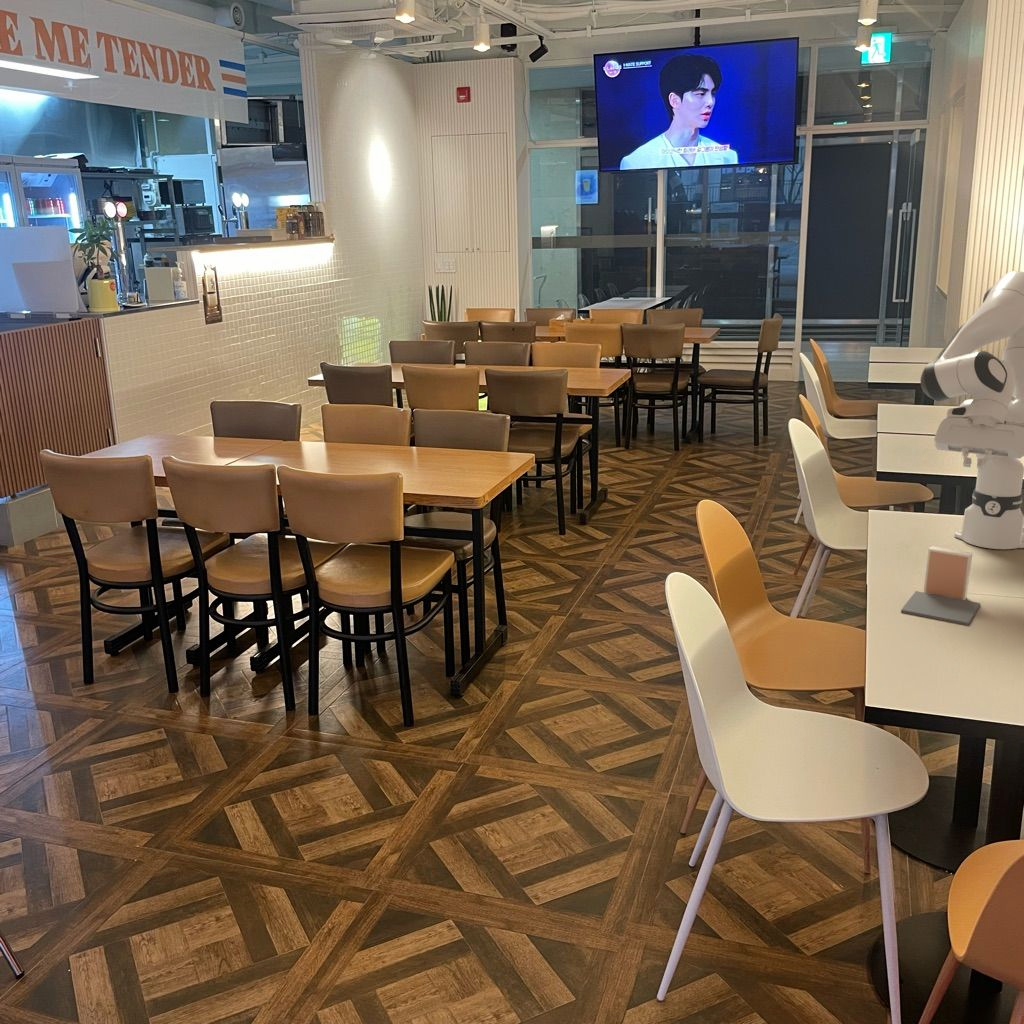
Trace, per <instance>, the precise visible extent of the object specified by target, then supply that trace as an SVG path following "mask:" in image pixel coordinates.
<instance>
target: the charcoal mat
mask: <svg viewBox="0 0 1024 1024" xmlns="http://www.w3.org/2000/svg"><path fill="white" fill-rule="evenodd" d="M980 606H981V602H977V601H972V600H967V599H965V600H962V599H957V598H951V597H946V596H940V595H935V594H929V593H924V591H917V590H915V591H914V593H913V594H912V595H911V597H910V598H909V599H908V601H906V603H905V604H904V605H903V607H902V608H901V610H900V613H902V614H903V613H904V614H908V615H913V616H918V617H925V618H928V619H935V620H940V621H945V622H949V623H953V624H959V625H964V626H969V625H970V623H971V622H972V620H973V618H974V616H975V615H976V613H977V612H978V610H979V608H980Z"/></svg>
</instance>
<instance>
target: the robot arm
mask: <svg viewBox="0 0 1024 1024" xmlns="http://www.w3.org/2000/svg"><path fill="white" fill-rule="evenodd" d="M1007 338H1008V340H1007V342H1006V343H1005V347H1004V349H1003V353H1002V356H1001V359H998V358H997V357H996V356H995V355H994V354H992V353H990V352H988V351H986V350H981V351H979V350H978V349H980V348H982V347H985V346H987V345H990V344H993V343H995V342H999V341H1001V340H1004V339H1007ZM977 350H978V351H977ZM975 351H976V352H975ZM920 387H921V389H922V392H923V393H924V394H925V395H926V396H927V397H929V398H930V399H932V400H934V401H935V402H943V401H946V400H949V399H952V398H956V397H961V396H962V397H963V396H965V395H966V396H967V395H970V396H972V398H970V399H965V400H964V401H963V402H962V403H961V404H959V406H958V407H957V406H956V407H951V408H948V410H947V412H946V418H944V419H943V420H942V421H941V422H940V424H939V426H938V428H937V429H936V433H935V435H934V440H933V441H934V442H933V443H934V447H935V448H936V450H937V451H945V452H946V451H947V452H957V453H961V456H962V459H963V463H962V464H963V465H962V466H963V467H964V468H971V466H972V457H969V454H973V455H974V454H975V457H976V462H977V464H976V468H977V471H976V483H975V488H974V489H973V491H972V492H973V493H972V498H971V499H972V500H971V503H972V504H970V505H969V506H967V507H966V508H965V509H964V514H963V519H962V526H961V529H959V530H958V531H955V532H954V535H953V536H954V537H955V538H957V539H960V540H962V541H964V542H965V543H968V544H970V545H972V546H977V547H980V548H985V549H986V548H987V549H992V550H993V549H994V550H1012V549H1013V550H1014V549H1024V514H1023V513H1022V511H1021V507H1022V503H1023V494H1022V488H1023V483H1024V464H1023V462H1021V460H1020V459H1021V458H1023V457H1024V271H1020V270H1015V271H1009V272H1008V273H1006V274H1003V276H1001V277H1000V278H999V279H998V281H997V282H995V284H994V285H993V286H991V287H990V288H988V290H987V291H986V292H985V293H984V296H983V300H982V304H981V305H980V307H978V309H977V310H976V311H975V312H974V313H973V314H972V316H970V317H969V318H968V319H967V320H966V321H965V322H964V323H963V324H962V325H961V326H960V327H959V328H958V329H957V330H956V331H955V333H954V334H953V335H952V336H951V338H950V339H949V340H948V341H947V343H946V344H945V346H944V347H943V348H942V350H941V351H940V353H939V354H938V355H937V356H936V358H935V359H934V360H932V361H930V362H929V363H927V364H926V365H925V367H924V368H923V371H922V373H921V375H920ZM1013 398H1014V399H1013Z"/></svg>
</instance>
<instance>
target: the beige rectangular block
mask: <svg viewBox="0 0 1024 1024" xmlns="http://www.w3.org/2000/svg"><path fill="white" fill-rule="evenodd" d="M972 559H973V552H971V551H970V552H969V551H966V550H965V551H963V550H959V549H951V548H945V547H938V546H932V545H931V546H930V547H929V548H928V553H927V559H926V569H925V578H924V586H923V592H924V593H929V594H935V595H940V596H946V597H951V598H957V599H962V600H967V597H968V591H969V581H970V575H971V569H972V568H971V567H972V561H973V560H972Z"/></svg>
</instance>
